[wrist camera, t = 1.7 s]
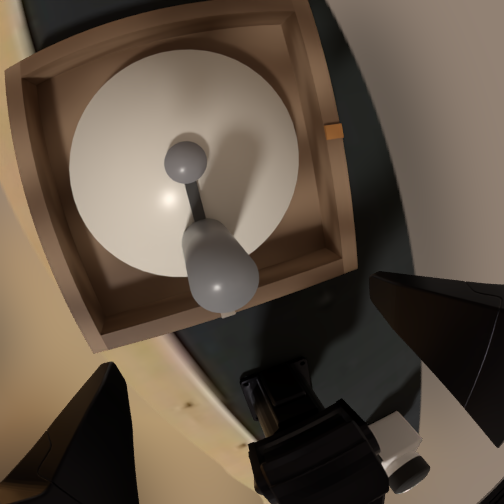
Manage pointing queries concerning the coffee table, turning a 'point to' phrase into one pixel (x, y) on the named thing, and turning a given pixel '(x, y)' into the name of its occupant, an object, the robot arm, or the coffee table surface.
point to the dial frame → (103, 69)
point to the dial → (186, 170)
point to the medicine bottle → (399, 452)
